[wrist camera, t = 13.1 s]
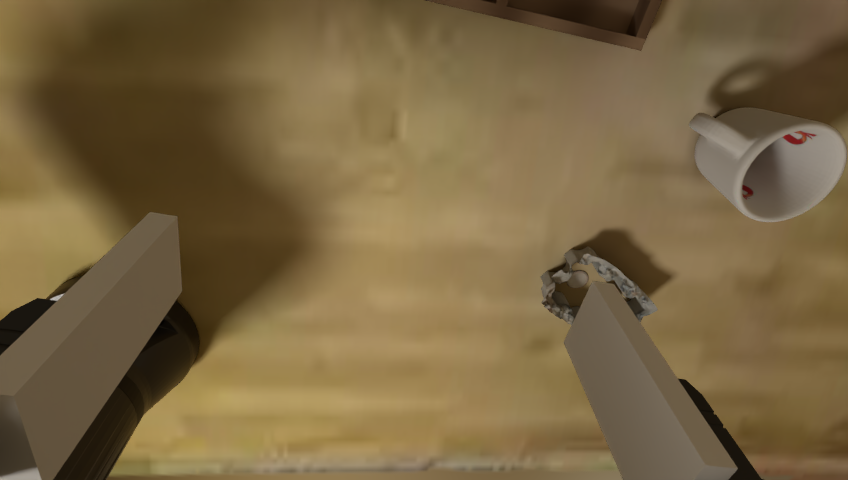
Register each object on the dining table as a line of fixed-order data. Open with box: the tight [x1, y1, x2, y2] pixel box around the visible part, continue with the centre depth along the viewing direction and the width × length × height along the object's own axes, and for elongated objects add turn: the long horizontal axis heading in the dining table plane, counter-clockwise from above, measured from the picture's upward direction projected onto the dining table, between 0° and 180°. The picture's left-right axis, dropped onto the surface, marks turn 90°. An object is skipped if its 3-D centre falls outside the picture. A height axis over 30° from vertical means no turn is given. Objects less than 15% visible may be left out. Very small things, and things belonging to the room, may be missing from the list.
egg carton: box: [541, 247, 657, 325], centre depth 47 cm, size 11×8×4 cm
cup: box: [689, 107, 847, 222], centre depth 37 cm, size 11×8×8 cm
